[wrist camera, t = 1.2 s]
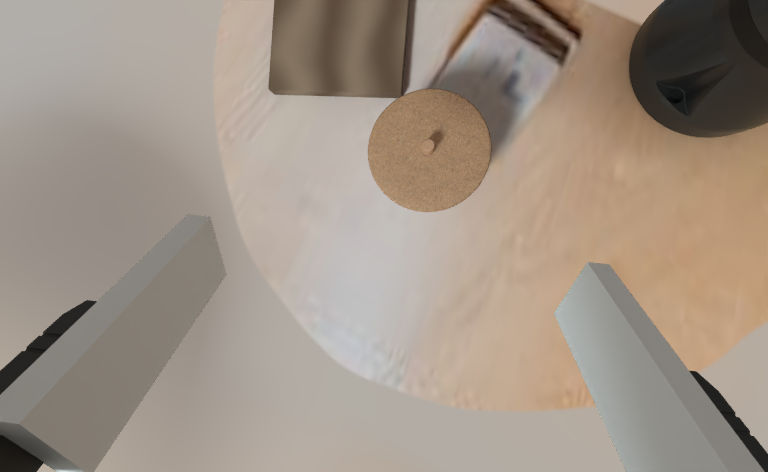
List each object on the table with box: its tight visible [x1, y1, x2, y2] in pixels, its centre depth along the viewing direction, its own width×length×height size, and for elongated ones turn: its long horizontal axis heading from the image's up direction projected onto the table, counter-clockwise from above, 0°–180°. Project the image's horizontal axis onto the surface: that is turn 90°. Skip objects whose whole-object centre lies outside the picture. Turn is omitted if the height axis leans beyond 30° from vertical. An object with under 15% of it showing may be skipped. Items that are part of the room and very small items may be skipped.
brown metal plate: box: [269, 0, 410, 98], centre depth 35 cm, size 15×15×2 cm
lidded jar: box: [368, 89, 491, 212], centre depth 30 cm, size 11×11×9 cm
